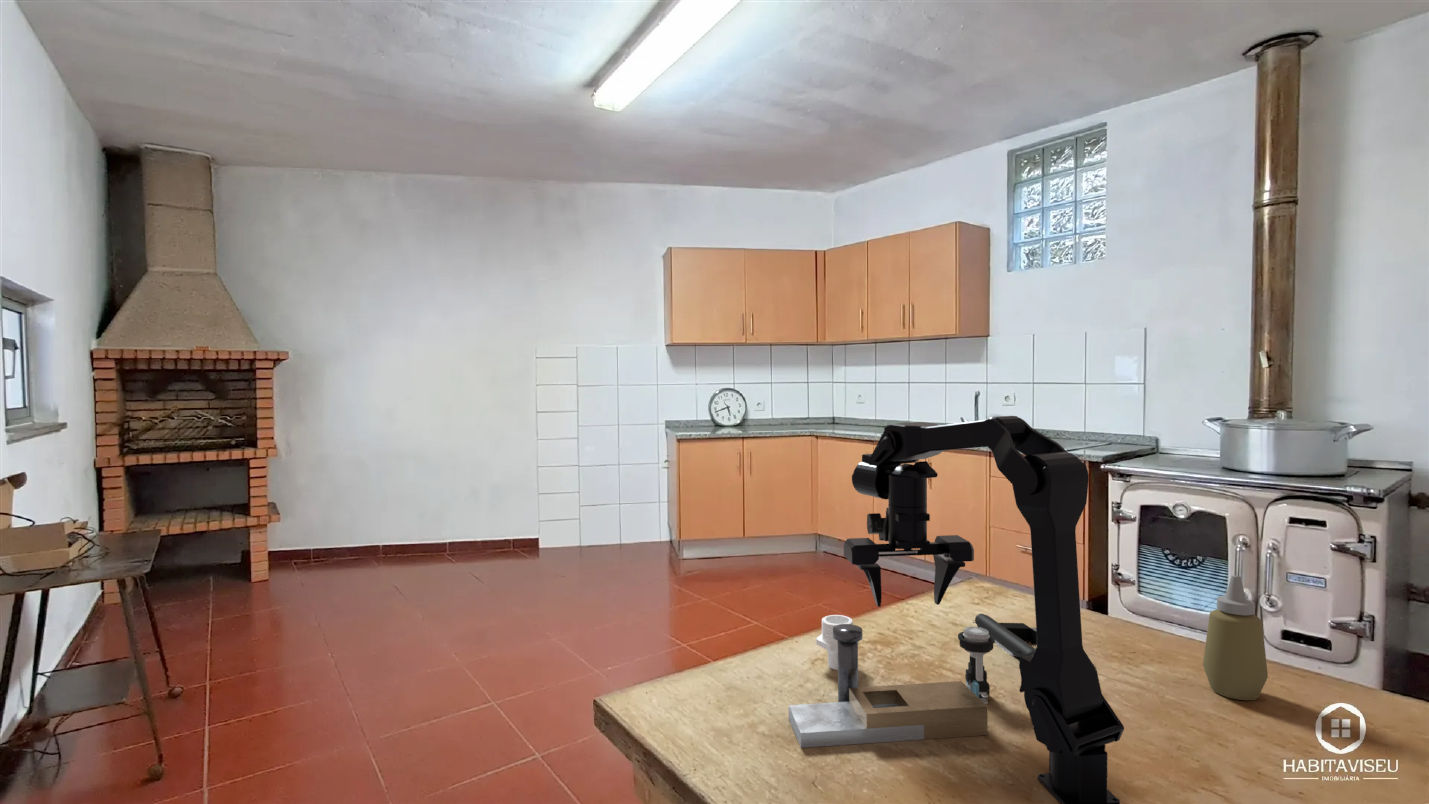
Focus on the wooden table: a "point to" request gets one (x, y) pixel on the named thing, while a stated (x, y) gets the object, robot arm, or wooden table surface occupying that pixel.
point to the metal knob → (847, 658)
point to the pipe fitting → (831, 637)
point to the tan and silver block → (892, 715)
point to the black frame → (1009, 635)
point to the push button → (976, 659)
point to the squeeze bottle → (1235, 646)
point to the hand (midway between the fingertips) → (907, 604)
